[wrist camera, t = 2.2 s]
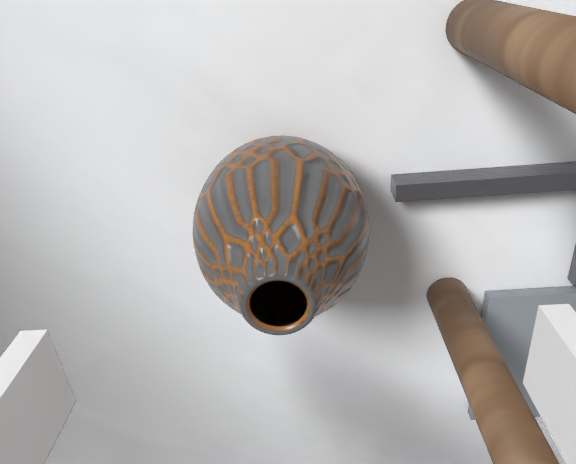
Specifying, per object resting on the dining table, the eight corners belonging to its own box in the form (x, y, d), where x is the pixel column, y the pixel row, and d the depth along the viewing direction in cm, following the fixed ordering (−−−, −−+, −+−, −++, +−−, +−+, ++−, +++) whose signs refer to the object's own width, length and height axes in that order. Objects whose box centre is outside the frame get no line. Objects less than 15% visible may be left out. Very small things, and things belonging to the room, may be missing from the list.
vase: (371, 233, 24) (409, 362, 16) (238, 267, 25) (214, 404, 17) (336, 96, 21) (362, 177, 13) (184, 142, 22) (127, 242, 14)
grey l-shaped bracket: (388, 289, 25) (392, 303, 24) (391, 174, 22) (396, 185, 21) (583, 277, 25) (596, 291, 24) (614, 158, 22) (630, 169, 21)
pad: (467, 411, 30) (471, 419, 29) (485, 291, 25) (489, 298, 25) (619, 404, 29) (625, 412, 29) (663, 280, 25) (671, 287, 25)
